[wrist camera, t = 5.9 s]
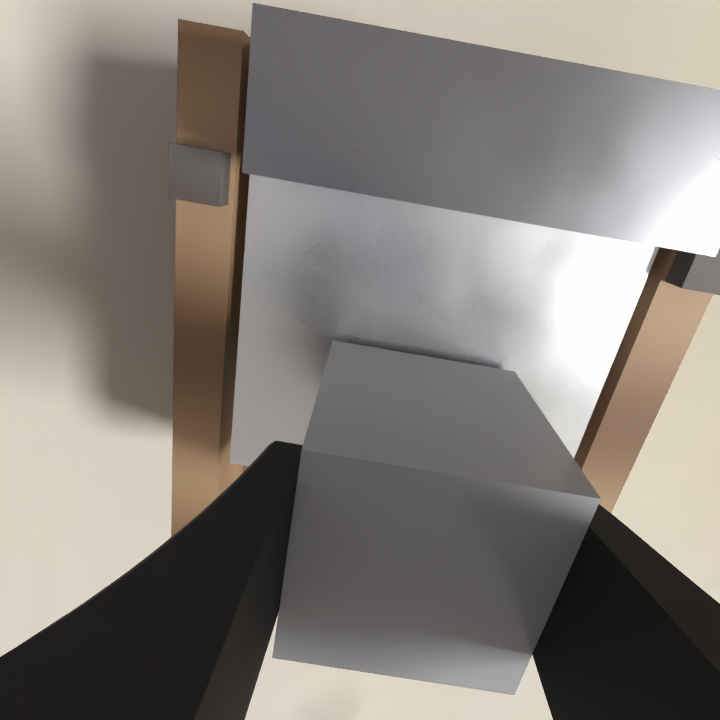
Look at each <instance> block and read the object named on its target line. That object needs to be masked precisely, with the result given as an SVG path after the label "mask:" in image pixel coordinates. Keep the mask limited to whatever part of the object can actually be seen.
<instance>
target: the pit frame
mask: <svg viewBox="0 0 720 720" xmlns="http://www.w3.org/2000/svg"><path fill="white" fill-rule="evenodd" d="M250 40H251V38H250V37H249V36H248V35H247V34H246V33H245V32H244V31H240V30H235V29H229V28H224V27H219V26H213V25H208V24H202V23H197V22H192V21H186V20H181V19H178V79H177V144H174V143H169V198H170V199H176V230H175V305H174V380H173V456H172V531H171V537H172V536H173V535H175V534H176V533H177V532H178V531H179V530H181V529H182V528H183V527H184V526H186V525H187V524H188V523H189V522H190V521H192V520H193V519H194V518H195V517H196V516H197V515H199V514H200V513H201V512H202V511H203V510H204V509H205V508H206V507H207V506H208V505H210V504H211V503H212V502H213V501H214V500H215V499H216V498H217V497H218V496H219V495H220V494H221V493H222V492H224V491H225V490H226V489H227V488H228V487H229V486H230V485H231V484H232V483H233V482H234V481H235V480H236V479H237V478H238V477H239V476H240V475H241V474H242V473H243V472H244V471H245V470H246V469H247V468H248V467H249V466H244V465H237V464H231V463H230V451H231V436H232V422H233V407H234V393H235V379H236V364H237V350H238V335H239V321H240V306H241V292H242V278H243V263H244V249H245V234H246V220H247V206H248V191H249V177H250V174H246V173H242V166H243V150H244V134H245V119H246V103H247V87H248V71H249V56H250ZM713 294H717V295H720V247H719V249H718V252H717V254H716V256H715V257H713V256H708V255H702V254H697V253H691V252H685V251H680V250H674V249H668V248H663V247H659V250H658V252H657V255H656V257H655V259H654V262H653V264H652V267H651V269H650V272H649V274H648V277H647V279H646V282H645V284H644V287H643V289H642V292H641V294H640V296H639V299H638V301H637V304H636V306H635V309H634V311H633V314H632V316H631V319H630V321H629V324H628V326H627V329H626V331H625V334H624V336H623V338H622V341H621V343H620V346H619V348H618V351H617V353H616V356H615V358H614V361H613V363H612V366H611V368H610V371H609V373H608V375H607V378H606V380H605V383H604V385H603V388H602V390H601V393H600V395H599V398H598V400H597V403H596V405H595V408H594V410H593V412H592V415H591V417H590V420H589V422H588V425H587V427H586V430H585V432H584V435H583V437H582V440H581V442H580V445H579V447H578V450H577V452H576V454H575V457H574V460H575V461H576V463H577V464H578V466H579V467H580V468H581V470H582V471H583V473H584V474H585V476H586V477H587V479H588V480H589V482H590V483H591V485H592V486H593V488H594V489H595V491H596V492H597V494H598V495H599V497H600V498H601V500H600V502H599V504H600V505H601V506H602V507H604V508H605V509H606V510H607V511H609V512H610V513H611V512H612V510H613V508H614V506H615V503H616V501H617V499H618V497H619V495H620V493H621V491H622V488H623V486H624V484H625V482H626V480H627V478H628V476H629V473H630V471H631V469H632V467H633V465H634V463H635V461H636V458H637V456H638V454H639V452H640V450H641V448H642V446H643V443H644V441H645V439H646V437H647V435H648V433H649V431H650V428H651V426H652V424H653V422H654V420H655V418H656V416H657V413H658V411H659V409H660V407H661V405H662V403H663V401H664V398H665V396H666V394H667V392H668V390H669V388H670V386H671V383H672V381H673V379H674V377H675V375H676V373H677V371H678V368H679V366H680V364H681V362H682V360H683V358H684V355H685V353H686V351H687V349H688V347H689V345H690V343H691V340H692V338H693V336H694V334H695V332H696V330H697V328H698V325H699V323H700V321H701V319H702V317H703V315H704V313H705V310H706V308H707V306H708V304H709V302H710V300H711V298H712V295H713Z"/></svg>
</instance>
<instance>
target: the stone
mask: <svg viewBox="0 0 720 720" xmlns="http://www.w3.org/2000/svg"><path fill="white" fill-rule="evenodd" d="M600 500H601V498H600V497H599V495H598V494H597V492H596V491H595V489H594V488H593V486H592V485H591V483H590V482H589V480H588V479H587V477H586V476H585V474H584V473H583V471H582V470H581V468H580V467H579V466H578V464H577V463H576V461H575V460H574V458H573V457H572V455H571V454H570V452H569V451H568V449H567V448H566V446H565V445H564V443H563V442H562V440H561V439H560V437H559V436H558V435H557V433H556V432H555V430H554V429H553V427H552V426H551V424H550V423H549V421H548V420H547V418H546V417H545V415H544V414H543V412H542V411H541V409H540V408H539V406H538V405H537V404H536V402H535V401H534V399H533V398H532V396H531V395H530V393H529V392H528V390H527V389H526V387H525V386H524V384H523V383H522V381H521V380H520V378H519V377H518V375H517V374H516V373H515V371H510V370H504V369H498V368H492V367H486V366H481V365H475V364H469V363H463V362H457V361H451V360H445V359H440V358H434V357H428V356H422V355H416V354H410V353H405V352H399V351H393V350H387V349H381V348H375V347H369V346H364V345H358V344H352V343H346V342H340V341H334V340H333V341H332V345H331V348H330V352H329V355H328V359H327V362H326V366H325V369H324V373H323V376H322V380H321V383H320V387H319V390H318V394H317V397H316V401H315V404H314V408H313V411H312V415H311V418H310V422H309V425H308V429H307V432H306V436H305V439H304V443H303V446H302V450H301V457H300V464H299V472H298V479H297V486H296V493H295V500H294V507H293V514H292V521H291V529H290V536H289V543H288V550H287V557H286V564H285V571H284V578H283V586H282V593H281V600H280V607H279V614H278V621H277V628H276V635H275V643H274V650H273V657H272V658H277V659H283V660H290V661H296V662H303V663H309V664H316V665H322V666H329V667H335V668H342V669H348V670H355V671H361V672H368V673H374V674H381V675H387V676H394V677H400V678H407V679H413V680H420V681H426V682H433V683H439V684H446V685H452V686H459V687H465V688H472V689H478V690H485V691H491V692H498V693H504V694H511V695H514V694H515V692H516V690H517V687H518V685H519V683H520V681H521V678H522V676H523V674H524V672H525V669H526V667H527V665H528V663H529V660H530V658H531V656H532V654H533V651H534V649H535V647H536V645H537V642H538V640H539V638H540V636H541V633H542V631H543V629H544V627H545V624H546V622H547V620H548V618H549V615H550V613H551V611H552V608H553V606H554V604H555V602H556V599H557V597H558V595H559V593H560V590H561V588H562V586H563V584H564V581H565V579H566V577H567V575H568V572H569V570H570V568H571V566H572V563H573V561H574V559H575V557H576V554H577V552H578V550H579V548H580V545H581V543H582V541H583V539H584V536H585V534H586V532H587V530H588V527H589V525H590V523H591V520H592V518H593V516H594V514H595V511H596V509H597V507H598V505H599V502H600Z"/></svg>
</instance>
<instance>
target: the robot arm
mask: <svg viewBox="0 0 720 720" xmlns="http://www.w3.org/2000/svg"><path fill="white" fill-rule="evenodd" d="M302 446H303V445H300V444H294V443H288V442H282V441H274V442H272V443H271V444H269V445H268V446H267V447H266V448H265V450H264V451H263V452H262V453H261V454H260V455H259V456H258V457H257V459H256V460H255V461H254V462H253V463H252V464H251V465H250V466H249V467H248V468H247V469H246V470H245V471H244V472H243V473H242V474H241V475H240V476H239V477H238V478H237V479H236V480H235V481H234V482H233V483H232V484H231V485H230V486H229V487H228V488H227V489H226V490H225V491H224V492H222V493H221V494H220V495H219V496H218V497H217V498H216V499H215V500H214V501H213V502H212V503H211V504H210V505H208V506H207V507H206V508H205V509H204V510H203V511H202V512H201V513H200V514H199V515H197V516H196V517H195V518H194V519H193V520H192V521H190V522H189V523H188V524H187V525H186V526H184V527H183V528H182V529H181V530H179V531H178V532H177V533H176V534H175V535H173V536H172V537H171V538H170V539H169V540H167V541H166V542H165V543H164V544H163V545H161V546H160V547H159V548H158V549H156V550H155V551H154V552H153V553H151V554H150V555H149V556H148V557H146V558H145V559H144V560H142V561H141V562H140V563H138V564H137V565H136V566H135V567H133V568H132V569H131V570H129V571H128V572H127V573H125V574H124V575H122V576H121V577H120V578H118V579H117V580H116V581H114V582H113V583H111V584H110V585H109V586H107V587H106V588H104V589H103V590H102V591H100V592H99V593H97V594H96V595H94V596H93V597H92V598H90V599H89V600H87V601H86V602H84V603H83V604H82V605H80V606H79V607H77V608H76V609H74V610H73V611H71V612H70V613H68V614H67V615H65V616H63V617H62V618H60V619H59V620H57V621H56V622H54V623H53V624H51V625H50V626H48V627H47V628H45V629H43V630H42V631H40V632H39V633H37V634H36V635H34V636H33V637H31V638H30V639H28V640H27V641H25V642H23V643H22V644H20V645H19V646H17V647H16V648H14V649H13V650H11V651H9V652H8V653H6V654H4V655H3V656H1V657H0V720H244V719H245V716H246V713H247V710H248V707H249V704H250V700H251V697H252V694H253V691H254V688H255V685H256V682H257V678H258V675H259V672H260V669H261V666H262V663H263V659H264V656H265V653H266V650H267V647H268V644H269V640H270V637H271V634H272V631H273V628H274V625H275V621H276V618H277V615H278V612H279V607H280V600H281V593H282V586H283V578H284V571H285V564H286V557H287V550H288V543H289V536H290V529H291V521H292V514H293V507H294V500H295V493H296V486H297V479H298V472H299V464H300V457H301V450H302ZM533 657H534V661H535V664H536V667H537V670H538V673H539V677H540V680H541V683H542V686H543V689H544V692H545V696H546V699H547V702H548V705H549V708H550V711H551V714H552V717H553V720H720V604H719V603H718V602H717V601H716V600H714V599H713V598H712V597H711V596H709V595H708V594H707V593H706V592H705V591H703V590H702V589H701V588H700V587H698V586H697V585H696V584H695V583H694V582H692V581H691V580H690V579H689V578H688V577H686V576H685V575H684V574H683V573H682V572H680V571H679V570H678V569H677V568H676V567H674V566H673V565H672V564H671V563H670V562H668V561H667V560H666V559H665V558H664V557H662V556H661V555H660V554H659V553H658V552H656V551H655V550H654V549H653V548H652V547H651V546H649V545H648V544H647V543H646V542H645V541H643V540H642V539H641V538H640V537H639V536H637V535H636V534H635V533H634V532H633V531H632V530H630V529H629V528H628V527H627V526H626V525H624V524H623V523H622V522H621V521H620V520H618V519H617V518H616V517H615V516H613V515H612V514H611V513H610V512H609V511H607V510H606V509H605V508H604V507H602V506H601V505H600V504H599V505H598V507H597V509H596V511H595V514H594V516H593V518H592V520H591V523H590V525H589V527H588V530H587V532H586V534H585V536H584V539H583V541H582V543H581V545H580V548H579V550H578V552H577V554H576V557H575V559H574V561H573V563H572V566H571V568H570V570H569V572H568V575H567V577H566V579H565V581H564V584H563V586H562V588H561V590H560V593H559V595H558V597H557V599H556V602H555V604H554V606H553V608H552V611H551V613H550V615H549V618H548V620H547V622H546V624H545V627H544V629H543V631H542V633H541V636H540V638H539V640H538V642H537V645H536V647H535V649H534V651H533Z"/></svg>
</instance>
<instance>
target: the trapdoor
mask: <svg viewBox="0 0 720 720" xmlns="http://www.w3.org/2000/svg"><path fill="white" fill-rule="evenodd" d="M242 173H246V174H250V177H249V191H248V206H247V220H246V234H245V249H244V263H243V278H242V292H241V306H240V321H239V335H238V350H237V364H236V379H235V393H234V407H233V422H232V436H231V451H230V463H231V464H237V465H244V466H250V465H251V464H252V463H253V462H254V461H255V460H256V459H257V457H258V456H259V455H260V454H261V453H262V452H263V451H264V450H265V448H266V447H267V446H268V445H269V444H271V443H272V442H274V441H282V442H288V443H294V444H300V445H303V443H304V439H305V436H306V432H307V429H308V425H309V422H310V418H311V415H312V411H313V408H314V404H315V401H316V397H317V394H318V390H319V387H320V383H321V380H322V376H323V373H324V369H325V366H326V362H327V359H328V355H329V352H330V348H331V345H332V341H333V340H334V341H340V342H346V343H352V344H358V345H364V346H369V347H375V348H381V349H387V350H393V351H399V352H405V353H410V354H416V355H422V356H428V357H434V358H440V359H445V360H451V361H457V362H463V363H469V364H475V365H481V366H486V367H492V368H498V369H504V370H510V371H515V373H516V374H517V375H518V377H519V378H520V380H521V381H522V383H523V384H524V386H525V387H526V389H527V390H528V392H529V393H530V395H531V396H532V398H533V399H534V401H535V402H536V404H537V405H538V406H539V408H540V409H541V411H542V412H543V414H544V415H545V417H546V418H547V420H548V421H549V423H550V424H551V426H552V427H553V429H554V430H555V432H556V433H557V435H558V436H559V437H560V439H561V440H562V442H563V443H564V445H565V446H566V448H567V449H568V451H569V452H570V454H571V455H572V457H573V458H574V457H575V454H576V452H577V450H578V447H579V445H580V442H581V440H582V437H583V435H584V432H585V430H586V427H587V425H588V422H589V420H590V417H591V415H592V412H593V410H594V408H595V405H596V403H597V400H598V398H599V395H600V393H601V390H602V388H603V385H604V383H605V380H606V378H607V375H608V373H609V371H610V368H611V366H612V363H613V361H614V358H615V356H616V353H617V351H618V348H619V346H620V343H621V341H622V338H623V336H624V334H625V331H626V329H627V326H628V324H629V321H630V319H631V316H632V314H633V311H634V309H635V306H636V304H637V301H638V299H639V296H640V294H641V292H642V289H643V287H644V284H645V282H646V279H647V277H648V274H649V272H650V269H651V267H652V264H653V262H654V259H655V257H656V255H657V252H658V250H659V247H663V248H668V249H674V250H680V251H685V252H691V253H697V254H702V255H708V256H713V257H715V256H716V254H717V252H718V249H719V247H720V90H717V89H712V88H707V87H701V86H696V85H690V84H685V83H680V82H674V81H669V80H664V79H658V78H653V77H648V76H642V75H637V74H631V73H626V72H621V71H615V70H610V69H605V68H599V67H594V66H588V65H583V64H578V63H572V62H567V61H562V60H556V59H551V58H546V57H540V56H535V55H529V54H524V53H519V52H513V51H508V50H503V49H497V48H492V47H487V46H481V45H476V44H470V43H465V42H460V41H454V40H449V39H444V38H438V37H433V36H427V35H422V34H417V33H411V32H406V31H401V30H395V29H390V28H385V27H379V26H374V25H368V24H363V23H358V22H352V21H347V20H342V19H336V18H331V17H325V16H320V15H315V14H309V13H304V12H299V11H293V10H288V9H283V8H277V7H272V6H266V5H261V4H256V3H253V8H252V24H251V40H250V56H249V71H248V87H247V103H246V119H245V134H244V150H243V166H242Z"/></svg>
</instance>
